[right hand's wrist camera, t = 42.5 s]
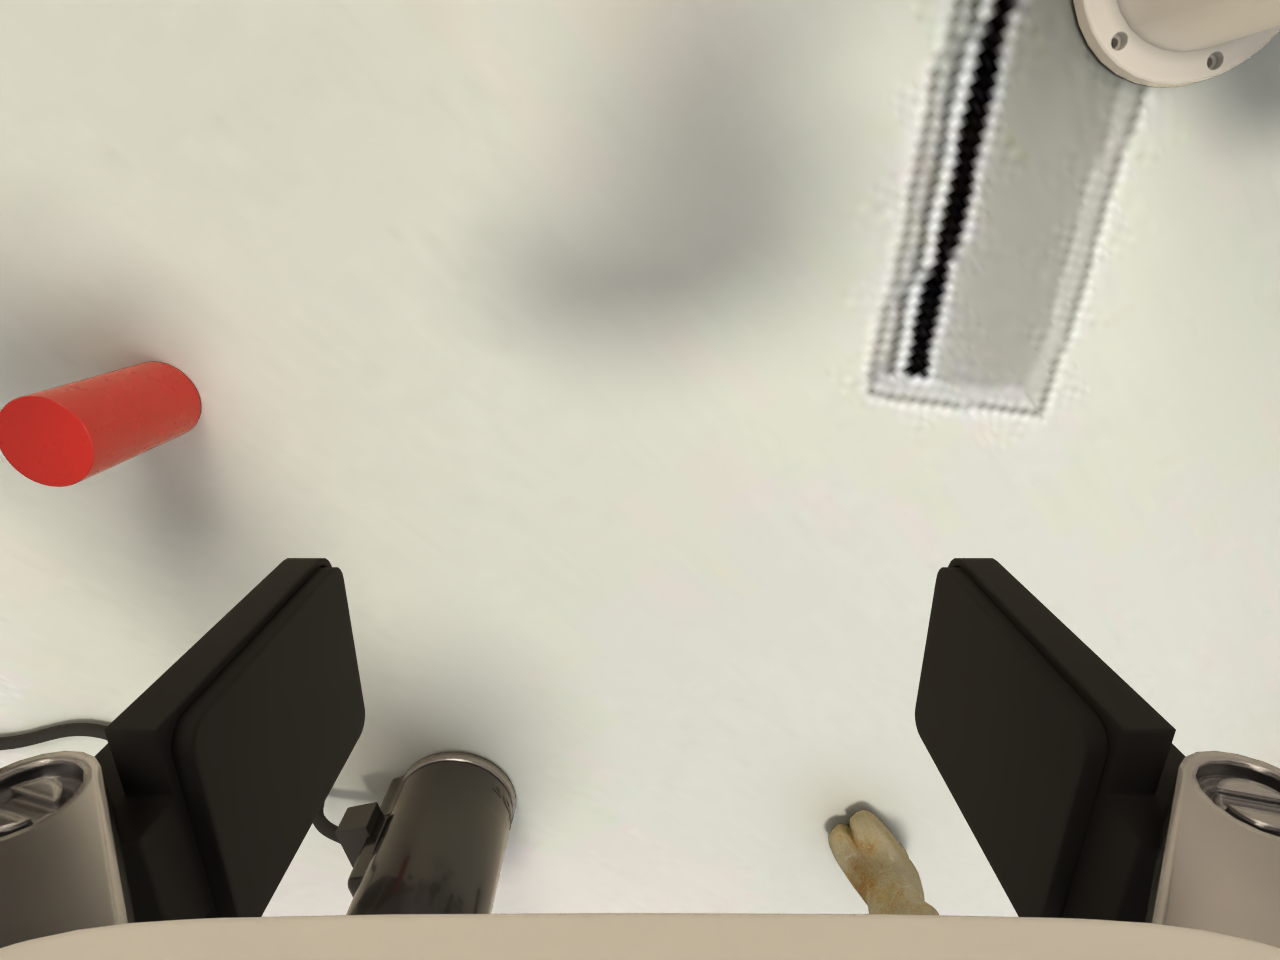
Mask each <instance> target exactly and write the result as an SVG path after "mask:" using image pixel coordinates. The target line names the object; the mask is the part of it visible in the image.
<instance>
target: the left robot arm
mask: <svg viewBox="0 0 1280 960" xmlns="http://www.w3.org/2000/svg"><path fill="white" fill-rule="evenodd" d="M107 727H108V726H103V725H97V724H88V723H74V724H65V725H59V726H55V727H51V728H47V729H43V730H39V731H36V732H32V733H28V734H23V735H18V736H12V737H2V738H0V750H7V749H15V748H21V747H26V746H30V745H34V744H38V743H42V742H45V741H49V740H53V739H57V738H62V737H69V736H90V737H97V738H102V739H105V740H107V737H106V734H105V731H104V729H105V728H107ZM324 802H325V801H324ZM515 806H516V797H515V792H514V789H513V786H512V784H511V782H510V781H509V779H508V778H507V776H506V775H505V774H504V773H503V772H502V771H501V770H500V769H499V768H498V767H496V766H495V765H494V764H492V763H491V762H489V761H487V760H485V759H483V758H480V757H478V756H475V755H471V754H467V753H460V752H445V753H438V754H434V755H431V756H428V757H426V758H424V759H422V760H420V761H418V762H417V763H415V764H414V765H413V766H412V767H411V768H410V769H409V770H408V771H407V773H406V774H405V776H403V777H401V778H396V779H393V780H392V782H391V785H390V787H389V789H388V791H387V793H386V796H385V798H384V800H383V802H382V805H381V807H379V805H378V803H377V802H375V803H370V804H364V805H359V806H354V807H349V808H347V810H346V812H345V814H344V816H343V818H342V820H341V822H340V824H339V826H336V825H334V824H332V823H331V822H330V821H328V820H327V818H326V817H325V816H324V813H323V808H324V803H323V805H322V806H321V808H320V810H319V812H318V814H317V816H316V817H315V819H314V821H313V824H314V826H315V827H316V829H317V830H318V831H319V832H320V833H321V834H323V835H324V836H326V837H327V838H329V839H331V840H333V841H336V842H338V843H340V844H341V845H342V847H343V849H344V851H345V853H346V855H347V857H348V859H349V861H350V863H351V865H352V867H353V870H352V872H351V874H350V877H349V879H348V888H349V890H350V892H351V894H352V896H353V900H352V902H351V905H350V907H349V909H348V912H347V914H346V915H388V914H491V912H492V907H493V902H494V898H495V893H496V889H497V884H498V879H499V875H500V870H501V865H502V861H503V856H504V852H505V847H506V843H507V838H508V834H509V830H510V827H511V823H512V820H513V816H514V812H515Z"/></svg>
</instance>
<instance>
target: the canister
mask: <svg viewBox="0 0 1280 960" xmlns="http://www.w3.org/2000/svg"><path fill="white" fill-rule="evenodd" d="M200 412H201V402H200V398H199V394H198V392H197V390H196V388H195V386H194V385H193V383H192V382H191V380H190V379H189V378H188V377H187V376H186V375H185V374H183V373H182V372H181V371H180V370H178V369H176V368H175V367H173V366H170V365H168V364H165V363H161V362H145V363H141V364H138V365H134V366H130V367H127V368H123V369H120V370H116V371H112V372H109V373H105V374H102V375H98V376H94V377H91V378H87V379H84V380H80V381H77V382H73V383H69V384H66V385H62V386H59V387H55V388H51V389H48V390H44V391H41V392H37V393H34V394H30V395H26V396H23V397H19V398H17V399H14V400H12V401H11V402H9V403H8V404H7V405H5V406H4V408H3V409H2V410H1V411H0V449H1V451H2V453H3V454H4V456H5V457H6V459H7V460H8V461H9V463H10V464H11V465H12V466H13V467H14V468H15V469H16V470H17V471H19V472H20V473H21V474H23V475H24V476H26V477H27V478H29V479H31V480H33V481H35V482H38V483H40V484H44V485H48V486H57V487H62V486H69V485H73V484H75V483H78V482H80V481H82V480H84V479H87V478H89V477H91V476H93V475H95V474H97V473H100V472H102V471H104V470H106V469H108V468H110V467H113V466H115V465H117V464H119V463H121V462H124V461H126V460H128V459H130V458H132V457H134V456H137V455H139V454H141V453H143V452H145V451H148V450H150V449H152V448H154V447H156V446H158V445H161V444H163V443H165V442H167V441H169V440H171V439H174V438H176V437H178V436H180V435H182V434H185V433H186V432H188V431H190V430H191V429H192V428H193V427H194V426H195V424H196V423H197V421H198V419H199V416H200Z"/></svg>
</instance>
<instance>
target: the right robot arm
mask: <svg viewBox="0 0 1280 960" xmlns="http://www.w3.org/2000/svg"><path fill="white" fill-rule="evenodd" d="M1073 2H1074V6H1075V11H1076V15H1077V19H1078V24H1079V26H1080V29H1081V31H1082V33H1083V35H1084V37H1085V40H1086V42H1087V44H1088V46H1089V47H1090V48H1091V50H1092V51H1093V52H1094V54H1095V55H1096V56H1097V57H1098V59H1099V60H1100V61H1101V62H1102V63H1103V64H1104V65H1105V66H1107V67H1108V68H1109V69H1110V70H1112V71H1113V72H1114V73H1115V74H1116V75H1119V76H1121V77H1123V78H1125V79H1127V80H1129V81H1131V82H1134V83H1137V84H1142V85H1147V86H1152V87H1177V86H1181V85H1186V84H1191V83H1195V82H1199V81H1203V80H1206V79H1209V78H1212V77H1216V76H1218V75H1220V74H1222V73H1224V72H1226V71H1228V70H1230V69H1232V68H1234V67H1235V66H1237V65H1239V64H1241V63H1243V62H1244V61H1246V60H1247V59H1248V58H1250V57H1251V56H1252V55H1253V54H1255V53H1256V52H1257V51H1259V50H1260V49H1261V48H1263V47H1264V46H1265V45H1266V44H1267V43H1268V42H1269V41H1270V40H1271V39H1272V38H1273V37H1274V36H1275V35H1276V34H1277V33H1278V32H1279V31H1280V0H1073ZM1111 41H1112V42H1113V47H1112V46H1111ZM364 721H365V708H364V701H363V695H362V689H361V683H360V677H359V671H358V664H357V658H356V652H355V646H354V640H353V634H352V627H351V621H350V615H349V609H348V603H347V597H346V590H345V584H344V578H343V574H342V572H341V570H340V569H339V568H338V567H332V566H331V564H330V562H329V561H328V560H327V559H326V558H287V559H285V560H284V561H283V562H281V563H280V564H279V565H278V566H277V567H276V568H275V569H274V570H273V571H272V572H271V573H270V574H269V575H268V576H267V577H266V578H265V579H263V580H262V581H261V582H260V583H259V584H258V585H257V586H256V587H255V588H254V589H253V590H252V591H251V592H250V593H249V594H248V595H246V596H245V597H244V598H243V599H242V600H241V601H240V602H239V603H238V604H237V605H236V606H235V607H234V608H233V609H232V610H231V611H230V612H228V613H227V614H226V615H225V616H224V617H223V618H222V619H221V620H220V621H219V622H218V623H217V624H216V625H215V626H214V627H213V628H211V629H210V630H209V631H208V632H207V633H206V634H205V635H204V636H203V637H202V638H201V639H200V640H199V641H198V642H197V643H196V644H195V645H193V646H192V647H191V648H190V649H189V650H188V651H187V652H186V653H185V654H184V655H183V656H182V657H181V658H180V659H179V660H178V661H177V662H175V663H174V664H173V665H172V666H171V667H170V668H169V669H168V670H167V671H166V672H165V673H164V674H163V675H162V676H161V677H160V678H158V679H157V680H156V681H155V682H154V683H153V684H152V685H151V686H150V687H149V688H148V689H147V690H146V691H145V692H144V693H143V694H142V695H140V696H139V697H138V698H137V699H136V700H135V701H134V702H133V703H132V704H131V705H130V706H129V707H128V708H127V709H126V710H125V711H123V712H122V713H121V714H120V715H119V716H118V717H117V718H116V719H115V720H114V721H113V722H112V723H111V724H110V725H109V726H108V727H107V728H105V729H104V731H105V734H106V737H107V740H108V744H107V745H106V746H105V747H104V748H103V749H102V750H101V751H100V752H99V753H98V754H97V755H96V756H95V757H93V756H91V755H89V754H86V753H84V752H74V751H61V752H54V753H47V754H41V755H38V756H34V757H31V758H27V759H24V760H20V761H17V762H15V763H12V764H10V765H8V766H5V767H3V768H1V769H0V960H1280V769H1279V768H1277V767H1275V766H1272V765H1270V764H1268V763H1265V762H1263V761H1260V760H1256V759H1253V758H1249V757H1246V756H1242V755H1239V754H1233V753H1226V752H1219V751H1206V752H1196V753H1194V754H1191V755H1189V756H1187V757H1185V756H1184V755H1183V754H1182V753H1181V752H1180V751H1179V750H1178V749H1177V748H1176V747H1175V746H1174V745H1173V744H1172V740H1173V737H1174V734H1175V731H1176V729H1175V728H1173V727H1172V726H1171V725H1170V724H1169V723H1168V722H1167V721H1166V720H1165V719H1164V718H1163V717H1162V716H1161V715H1160V714H1159V713H1158V712H1157V711H1155V710H1154V709H1153V708H1152V707H1151V706H1150V705H1149V704H1148V703H1147V702H1146V701H1145V700H1144V699H1143V698H1142V697H1141V696H1140V695H1138V694H1137V693H1136V692H1135V691H1134V690H1133V689H1132V688H1131V687H1130V686H1129V685H1128V684H1127V683H1126V682H1125V681H1124V680H1123V679H1122V678H1120V677H1119V676H1118V675H1117V674H1116V673H1115V672H1114V671H1113V670H1112V669H1111V668H1110V667H1109V666H1108V665H1107V664H1106V663H1105V662H1103V661H1102V660H1101V659H1100V658H1099V657H1098V656H1097V655H1096V654H1095V653H1094V652H1093V651H1092V650H1091V649H1090V648H1089V647H1088V646H1087V645H1085V644H1084V643H1083V642H1082V641H1081V640H1080V639H1079V638H1078V637H1077V636H1076V635H1075V634H1074V633H1073V632H1072V631H1071V630H1070V629H1069V628H1067V627H1066V626H1065V625H1064V624H1063V623H1062V622H1061V621H1060V620H1059V619H1058V618H1057V617H1056V616H1055V615H1054V614H1053V613H1052V612H1050V611H1049V610H1048V609H1047V608H1046V607H1045V606H1044V605H1043V604H1042V603H1041V602H1040V601H1039V600H1038V599H1037V598H1036V597H1035V596H1034V595H1032V594H1031V593H1030V592H1029V591H1028V590H1027V589H1026V588H1025V587H1024V586H1023V585H1022V584H1021V583H1020V582H1019V581H1018V580H1017V579H1015V578H1014V577H1013V576H1012V575H1011V574H1010V573H1009V572H1008V571H1007V570H1006V569H1005V568H1004V567H1003V566H1002V565H1001V564H1000V563H999V562H997V561H996V560H995V559H993V558H954V559H953V560H952V561H951V562H950V564H949V566H948V567H942V568H941V569H940V570H939V572H938V574H937V578H936V584H935V590H934V596H933V603H932V609H931V615H930V621H929V627H928V634H927V640H926V646H925V652H924V658H923V664H922V671H921V677H920V683H919V689H918V695H917V701H916V708H915V721H916V726H917V730H918V733H919V735H920V737H921V739H922V741H923V743H924V744H925V746H926V748H927V750H928V752H929V753H930V755H931V757H932V759H933V761H934V763H935V764H936V766H937V768H938V770H939V772H940V774H941V775H942V777H943V779H944V781H945V783H946V785H947V786H948V788H949V790H950V792H951V794H952V796H953V797H954V799H955V801H956V803H957V805H958V806H959V808H960V810H961V812H962V814H963V816H964V817H965V819H966V821H967V823H968V825H969V827H970V828H971V830H972V832H973V834H974V836H975V838H976V839H977V841H978V843H979V845H980V847H981V849H982V850H983V852H984V854H985V856H986V858H987V859H988V861H989V863H990V865H991V867H992V869H993V870H994V872H995V874H996V876H997V878H998V880H999V881H1000V883H1001V885H1002V887H1003V889H1004V891H1005V892H1006V894H1007V896H1008V898H1009V900H1010V902H1011V903H1012V905H1013V907H1014V909H1015V911H1016V912H1017V914H1018V916H1019V917H990V916H941V915H892V914H712V913H568V914H388V915H339V916H290V917H261V916H262V914H263V912H264V911H265V909H266V907H267V905H268V903H269V902H270V900H271V898H272V896H273V894H274V892H275V891H276V889H277V887H278V885H279V883H280V881H281V880H282V878H283V876H284V874H285V872H286V870H287V869H288V867H289V865H290V863H291V861H292V859H293V858H294V856H295V854H296V852H297V850H298V849H299V847H300V845H301V843H302V841H303V839H304V838H305V836H306V834H307V832H308V830H309V828H310V827H311V825H312V823H313V821H314V819H315V817H316V816H317V814H318V812H319V810H320V808H321V806H322V805H323V803H324V801H325V799H326V797H327V796H328V794H329V792H330V790H331V788H332V786H333V785H334V783H335V781H336V779H337V777H338V775H339V774H340V772H341V770H342V768H343V766H344V764H345V763H346V761H347V759H348V757H349V755H350V753H351V752H352V750H353V748H354V746H355V744H356V743H357V741H358V739H359V737H360V735H361V733H362V730H363V726H364Z"/></svg>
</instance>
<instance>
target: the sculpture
mask: <svg viewBox="0 0 1280 960" xmlns="http://www.w3.org/2000/svg"><path fill="white" fill-rule="evenodd" d="M849 823H850V827H849V826H846V825H843V824H839V825H837V826H835V828H834V829H833V830H832V831H831V832H830V834H829V845H830V848H831V850H832V853H833V855H834V857H835V859H836V861H837V863H838V864H839V866H840V867H841V869H842V871H843V872H844V873H845V875H846V876H847V878H848V879H849V881H850V882H851V884H852V885H853V887H854V888H855V889H856V891H857V892H858V893H859V895H860V896H861V897H862V899H863V900H864V901H865V903H866V904H867V905H868V909H869V914H892V915H939V914H938V912H937V911H936V909H935V908H934V907H932V906H931V905H929V904H928V903H926V902H925V901H924V893H923V888H922V884H921V880H920V877H919V874H918V872H917V870H916V868H915V866H914V864H913V863H912V862H911V860H910V859H909V857H908V854H907V852H906V850H905V849H904V847H903V846H902V845H901V844H900V843H899V842H898V841H897V839H896V838H895V837H894V835H893V834H892V833H891V832H890V831H889V830H888V829H887V828H886V826H885V825H884V824H883V823H882V822H881V821H880V820H879V819H878V818H877V817H876V816H875V815H873V814H872V813H871V812H869V811H866V810H861V811H858V812H856V813H855V814H854V815H853V816H852V817H851V818H850V821H849Z"/></svg>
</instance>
